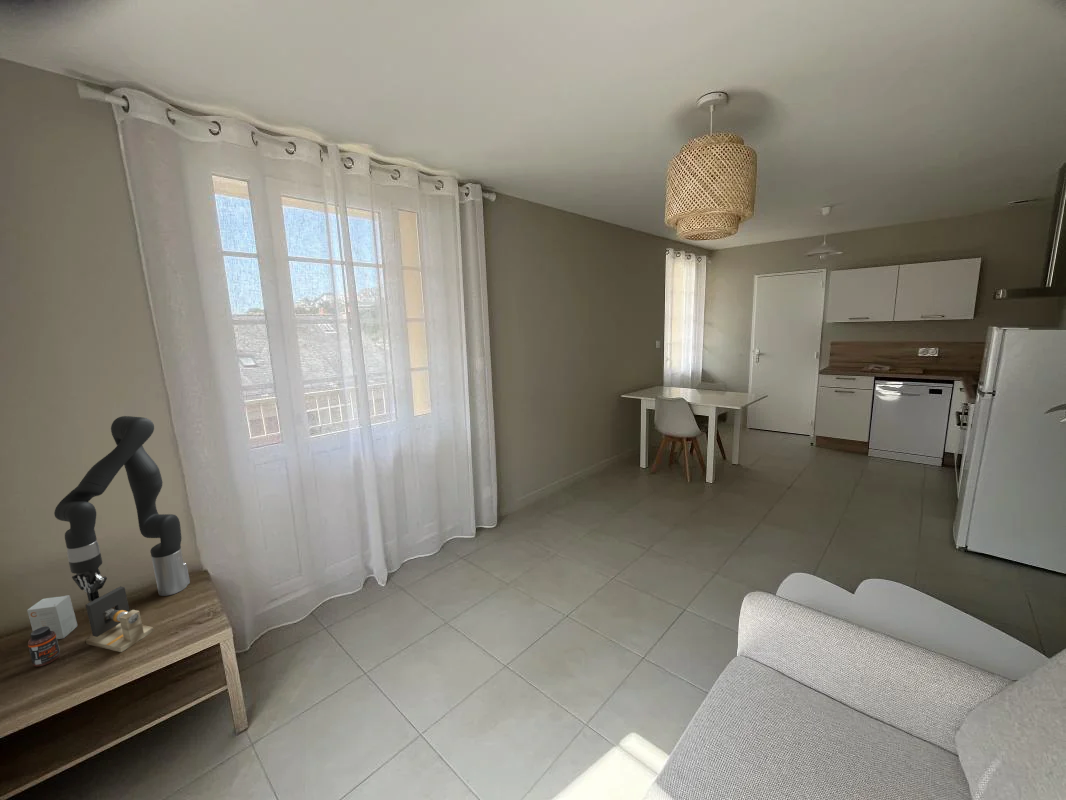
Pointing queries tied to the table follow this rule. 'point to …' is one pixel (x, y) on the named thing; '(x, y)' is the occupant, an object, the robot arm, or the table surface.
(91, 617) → the dark grey flat block
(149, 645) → the table surface
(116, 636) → the pipe stand
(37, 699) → the table surface
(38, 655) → the supplement bottle
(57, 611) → the small box
